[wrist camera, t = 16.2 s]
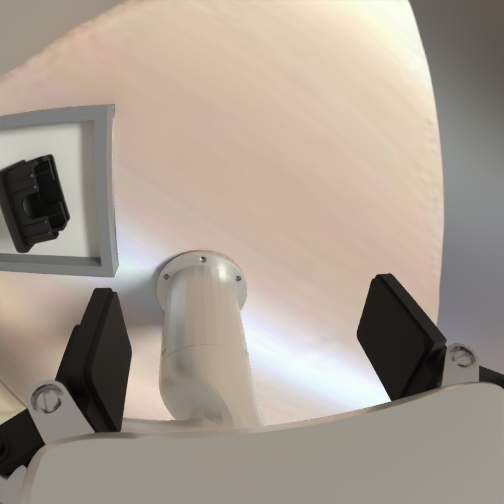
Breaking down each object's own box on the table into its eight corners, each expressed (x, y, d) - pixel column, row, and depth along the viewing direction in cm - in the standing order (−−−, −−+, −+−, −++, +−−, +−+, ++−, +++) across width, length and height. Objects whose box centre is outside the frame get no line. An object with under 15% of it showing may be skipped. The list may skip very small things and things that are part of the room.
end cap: (9, 164, 31) (-19, 179, 25) (52, 148, 31) (26, 161, 26) (31, 233, 36) (9, 257, 30) (72, 223, 36) (53, 247, 30)
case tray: (118, 265, 41) (114, 277, 38) (-3, 259, 37) (-12, 269, 34) (114, 104, 31) (107, 105, 29) (-22, 120, 27) (-35, 124, 25)
